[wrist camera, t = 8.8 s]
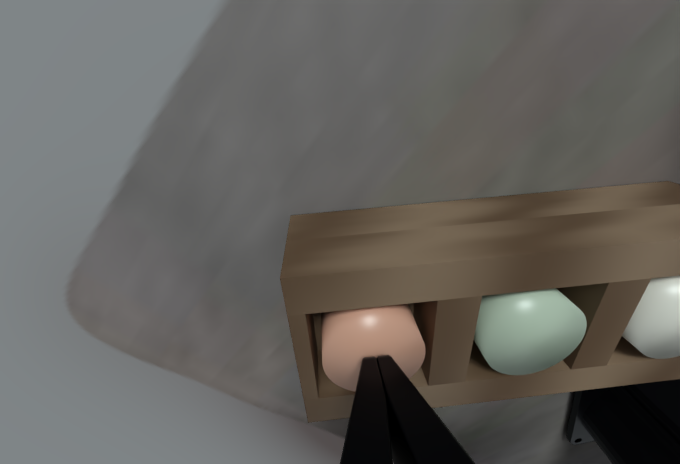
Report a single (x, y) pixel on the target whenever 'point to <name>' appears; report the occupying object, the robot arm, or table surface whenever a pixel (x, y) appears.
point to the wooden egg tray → (485, 284)
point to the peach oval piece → (369, 341)
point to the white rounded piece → (657, 319)
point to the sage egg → (528, 330)
